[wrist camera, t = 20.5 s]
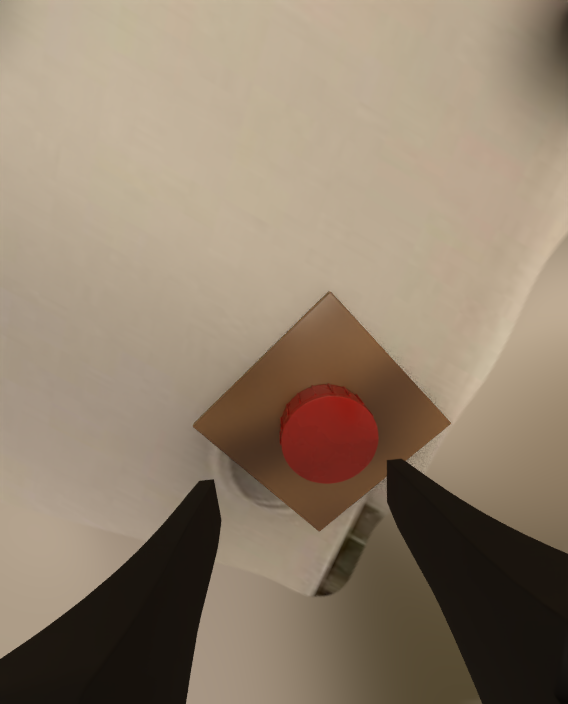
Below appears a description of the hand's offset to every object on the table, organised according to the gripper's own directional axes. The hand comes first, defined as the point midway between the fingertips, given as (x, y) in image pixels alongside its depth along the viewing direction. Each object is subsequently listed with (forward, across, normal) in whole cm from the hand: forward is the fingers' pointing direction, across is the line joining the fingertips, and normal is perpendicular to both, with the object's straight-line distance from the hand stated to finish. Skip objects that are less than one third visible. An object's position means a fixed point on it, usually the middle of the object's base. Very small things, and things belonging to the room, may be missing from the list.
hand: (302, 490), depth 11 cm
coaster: (+6, -2, 0) cm, 6 cm away
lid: (+4, -2, 0) cm, 4 cm away
